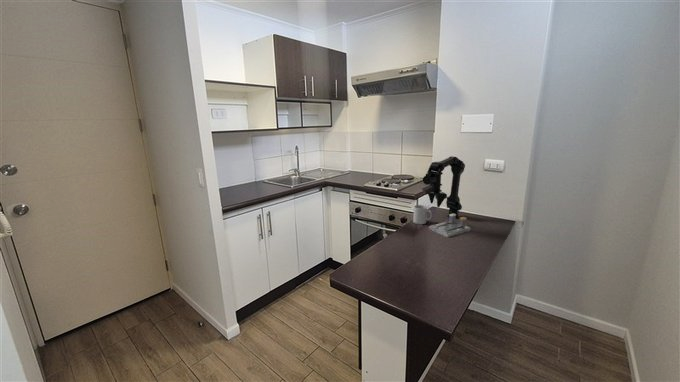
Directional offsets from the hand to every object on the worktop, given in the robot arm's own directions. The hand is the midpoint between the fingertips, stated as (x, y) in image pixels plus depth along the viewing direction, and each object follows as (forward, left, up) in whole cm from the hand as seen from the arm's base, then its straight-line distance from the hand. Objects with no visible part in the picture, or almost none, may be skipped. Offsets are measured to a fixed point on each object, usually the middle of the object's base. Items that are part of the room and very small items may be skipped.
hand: (434, 205), depth 182 cm
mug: (+3, -7, -14) cm, 16 cm away
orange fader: (-9, +15, -11) cm, 21 cm away
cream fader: (-9, +7, -11) cm, 16 cm away
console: (-2, +11, -14) cm, 18 cm away
